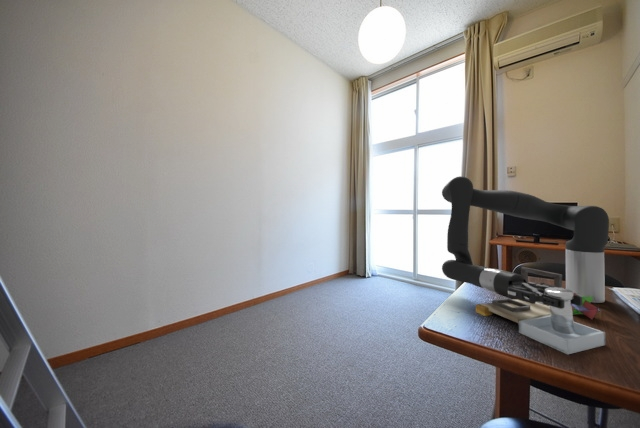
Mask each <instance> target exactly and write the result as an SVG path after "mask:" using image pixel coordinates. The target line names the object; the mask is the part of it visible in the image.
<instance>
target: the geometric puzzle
mask: <svg viewBox="0 0 640 428" xmlns="http://www.w3.org/2000/svg"><path fill="white" fill-rule="evenodd" d="M578 294H579V293H578ZM578 294H576V293H574V292H573V295H577V296H580V295H578ZM583 295H584V294H583ZM588 296H589V295H588ZM580 297H581V296H580ZM593 297H594V296H592V297H582V305H579V306H578V305H575V304H572V308H574V309H573V310H572V312H573V315H584V316H586V318H588V319H590V320H593V319H594V318H595V317H596V315H597V314H596V313H598V312H601V311H602V310H601V308H600V307H598V306H597V305H598V303H595V304H596V306H595V305H594V304H592V302H591V301H592V299H593ZM594 299H595V298H594Z"/></svg>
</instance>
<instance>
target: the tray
mask: <svg viewBox="0 0 640 428" xmlns="http://www.w3.org/2000/svg"><path fill="white" fill-rule="evenodd" d="M574 330H575V332H574V333H573V334H564V333H560V332H557V331H555V330H553V328H552V323H551V315H549V316H544V317H538V318H533V319H528V320H522V321H519V324H518V333H519V334H521V335H524V336H525V337H527V338H530V339H532V340H534V341H537V342H539V343H541V344H543V345H546V346H548V347H551V348H552V349H554V350H557V351H558V352H561V353H563V354H565V355H570V354H574V353H579V352H582V351H588V350H590V349H594V348H600V347H602V346H606V332H605V331H602V330H600V329H597V328H594V327H591V326H588V325H585V324H582V323H579V322H576V321H574Z"/></svg>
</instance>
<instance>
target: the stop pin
mask: <svg viewBox="0 0 640 428" xmlns="http://www.w3.org/2000/svg"><path fill="white" fill-rule="evenodd" d="M545 294H546V295H550V296H553V297H557V298H560V299H563V300H564V305H565V307H564V308H562V309H560V308H557V307H553V306H550V305H548V306H549V307H550V315H551V323H552V328H553V330H555V331H557V332H560V333H564V334H573V333H574V332H575V330H574V322H575V321H574V314H573V306H572V304H571V300H572V299H573V298H574V296H573V292H572V291H571V290H568V289H566V287H565V288H564V287H562V288H558V287H549V288H546V289H545V293H544V295H545Z"/></svg>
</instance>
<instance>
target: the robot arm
mask: <svg viewBox="0 0 640 428" xmlns="http://www.w3.org/2000/svg"><path fill="white" fill-rule="evenodd" d="M441 195H442V197H443V199H444V200H445V201H447V202H448V203H450V204H451V212H450V220H449V222H448V227H447V234H446V235H447V236H446V237H447V240H446V241H447V242H446V247H447V252H448V253H450V254H451V255H454V259H449V260H448V259H447V260H446V261H444V262H443V264H442V265H441V270H442V273H443V275H444V276H446V278H448V279H450V280H453V281H457V282H462V283H466V284H470V285H473V286H476V287H478V288H481V289H484V290H487V291H488V292H491V293H493V294H496V295H499V296H503V297H505V298H507V299H508V298H509V299H512V300H513V299H514V300H517V299H518V300H522V301H525V302H529V303H532V304H535V303H536V302H537V303H539V304H543V305H546V306H549V305H550V306H553V307H557V308H560V309H562V308H564V307H565V305H564V300H563V299H560V298H557V297H553V296H550V295H546V294H545V289H546V288H549V287H555V286H554V285H553V284H552V285H551V284H549V283H545V282H540V283H536V282H531V281H528V283H527V282H526V281H525V279H524V278H523V276H521V273H520V274H519V273H516V272H513V271H512V272H511V271H506V270H504V269H503V270H502V269H498V268H491V267H487V266H482V265H476V264H473V261H472V258H471V253H470V251H469V219H470V211H471V207H475V208H480V209H484V210H488V211H491V212H495V213H499V214H503V215H508V216H512V217H516V218H522V219H528V220H531V221H532V220H533V221H534V220H535V221H539V222H540V221H541V222H545V223H549V224H552V225H556V226H559V227H561V228H563V229H566V230H570V231H573V237H572V239H570V240H567V241H566V242H565V246H564V247H565V289H568V290H571V291H572V292H574V293H576V294H578V293H579V294H578V295H580V296H581V297H580V296H577V295H573V296H574V298H573V299H572V300H571V304H575V305H578V306H579V305H582V297H592V296H594V297H593V299H592V301H591V303H595V304H596V303H597V304H600V303H605V299H606V297H605V296H606V294H605V293H606V289H605V288H606V287H605V285H606V284H605V276H606V275H605V248H606V246H607V244H608V242H609V231H610V229H609V228H610V219H609V215H608V212H607V211H606V210H605V209H604V208H602V207H600V206H596V205H566V204H558V203H557V204H556V203H552V202H549V201H546V200H543V199H541V198H539V197H537V196H535V195H532V194H529V193H524V192H519V191H515V190H508V189H507V190H505V189H500V190H499V189H498V190H497V189H495V190H494V189H492V190H491V189H490V190H487V189H486V190H485V189H479V188H478V189H477V188H474V184H473V182H472V181H471V179H469V178H468V177H466V176H463V175H461V176H456V177H453V178H452V179H451V180H449V181H448V183H446V184H445V186H444V187H443V188H442V191H441ZM558 288H559V287H558ZM583 294H584V295H583ZM588 295H589V296H588ZM594 298H595V299H594Z"/></svg>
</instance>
